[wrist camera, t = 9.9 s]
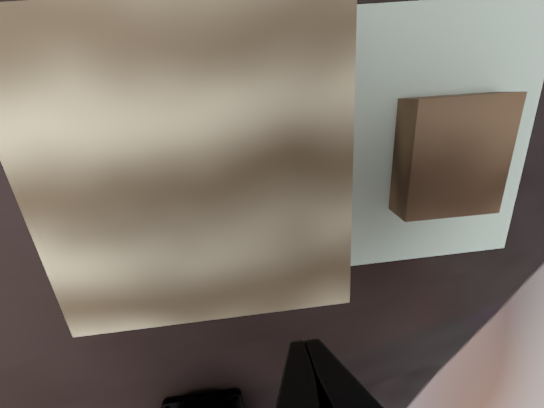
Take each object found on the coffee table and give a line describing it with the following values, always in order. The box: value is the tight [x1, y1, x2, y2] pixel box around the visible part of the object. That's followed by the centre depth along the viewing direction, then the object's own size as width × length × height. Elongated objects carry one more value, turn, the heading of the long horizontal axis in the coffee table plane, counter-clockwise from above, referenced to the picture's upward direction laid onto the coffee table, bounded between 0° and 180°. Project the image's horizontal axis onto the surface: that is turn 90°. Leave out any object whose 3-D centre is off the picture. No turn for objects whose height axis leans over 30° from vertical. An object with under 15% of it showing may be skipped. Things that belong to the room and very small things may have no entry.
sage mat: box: [351, 0, 544, 266], centre depth 19 cm, size 16×13×1 cm
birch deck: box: [0, 0, 357, 337], centre depth 16 cm, size 16×16×4 cm
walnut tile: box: [388, 92, 527, 222], centre depth 18 cm, size 7×6×2 cm
